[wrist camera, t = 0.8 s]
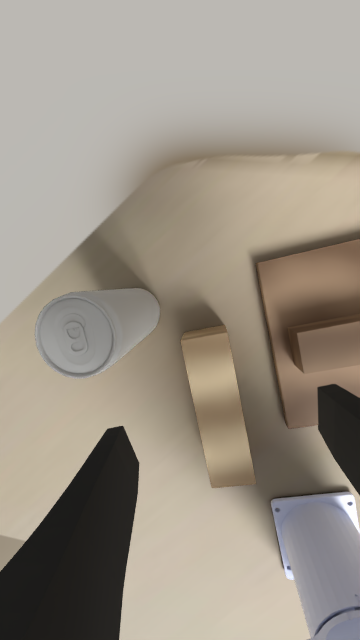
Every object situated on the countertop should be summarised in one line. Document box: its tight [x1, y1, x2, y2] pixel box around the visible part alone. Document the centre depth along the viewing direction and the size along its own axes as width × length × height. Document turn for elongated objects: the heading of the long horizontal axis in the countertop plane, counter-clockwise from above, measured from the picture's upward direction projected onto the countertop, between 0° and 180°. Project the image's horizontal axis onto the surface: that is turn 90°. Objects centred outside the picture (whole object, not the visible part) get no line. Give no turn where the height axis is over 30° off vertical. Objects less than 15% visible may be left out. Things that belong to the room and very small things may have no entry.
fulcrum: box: [256, 239, 360, 429], centre depth 21 cm, size 16×12×4 cm
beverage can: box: [35, 288, 160, 378], centre depth 19 cm, size 5×5×12 cm
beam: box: [180, 325, 256, 488], centre depth 24 cm, size 14×4×4 cm, turn 12°
